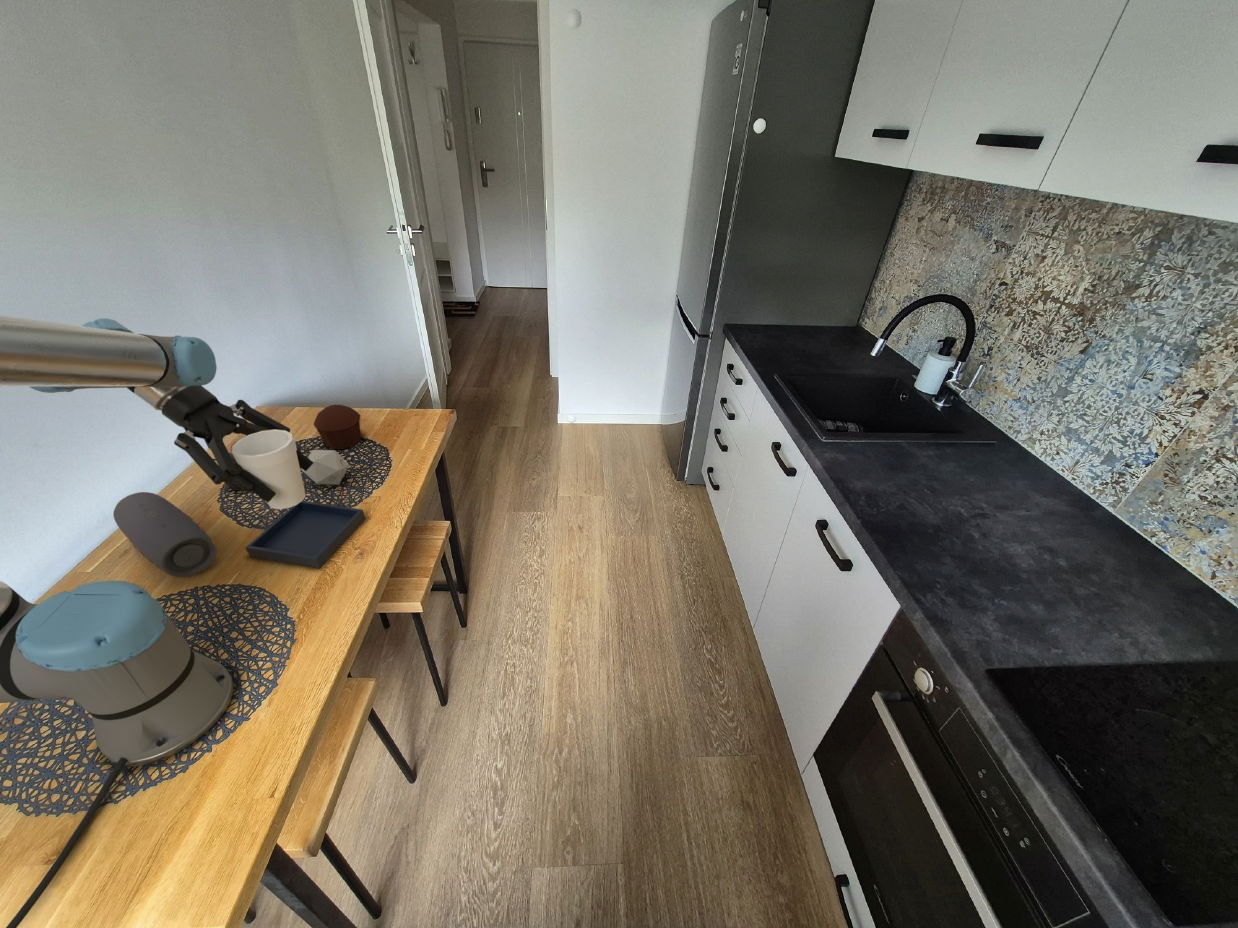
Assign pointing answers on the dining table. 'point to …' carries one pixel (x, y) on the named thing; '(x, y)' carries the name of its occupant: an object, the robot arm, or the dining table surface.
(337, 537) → the tray
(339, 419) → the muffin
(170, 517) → the bluetooth speaker
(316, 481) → the die
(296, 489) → the foam cup
